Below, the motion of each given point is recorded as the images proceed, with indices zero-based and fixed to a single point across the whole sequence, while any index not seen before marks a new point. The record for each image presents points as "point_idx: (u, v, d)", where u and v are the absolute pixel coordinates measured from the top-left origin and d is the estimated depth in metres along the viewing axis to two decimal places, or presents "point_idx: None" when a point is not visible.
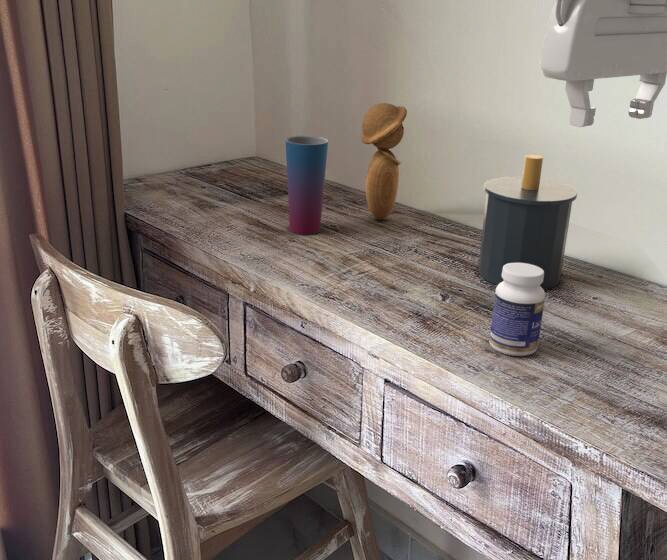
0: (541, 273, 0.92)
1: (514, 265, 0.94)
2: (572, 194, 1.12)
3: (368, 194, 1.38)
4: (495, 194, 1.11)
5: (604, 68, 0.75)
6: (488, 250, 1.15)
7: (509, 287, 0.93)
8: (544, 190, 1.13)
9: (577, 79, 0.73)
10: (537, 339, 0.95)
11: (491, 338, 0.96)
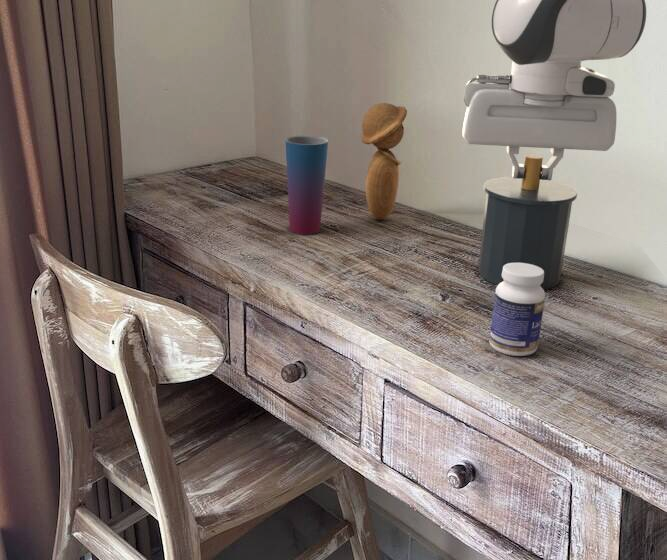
0: (541, 273, 0.92)
1: (514, 265, 0.94)
2: (572, 194, 1.12)
3: (368, 194, 1.38)
4: (495, 194, 1.11)
5: (501, 139, 1.10)
6: (488, 250, 1.15)
7: (509, 287, 0.93)
8: (544, 190, 1.13)
9: (475, 143, 1.10)
10: (537, 339, 0.95)
11: (491, 338, 0.96)
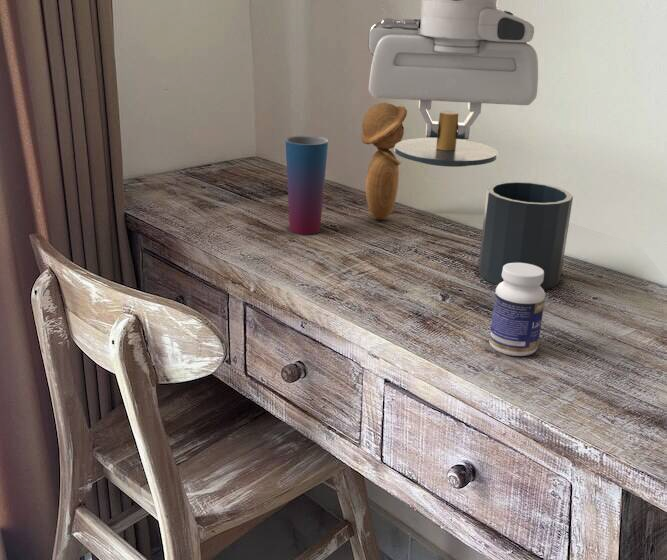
0: (541, 273, 0.92)
1: (514, 265, 0.94)
2: (491, 154, 0.99)
3: (368, 194, 1.38)
4: (404, 154, 0.99)
5: (410, 92, 0.98)
6: (488, 250, 1.15)
7: (509, 287, 0.93)
8: (461, 150, 1.01)
9: (381, 97, 0.98)
10: (537, 339, 0.95)
11: (491, 338, 0.96)
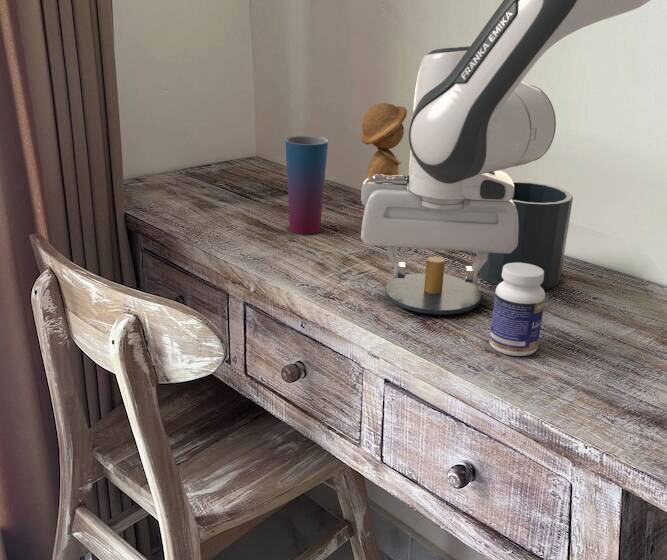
0: (541, 273, 0.92)
1: (514, 265, 0.94)
2: (475, 299, 1.07)
3: None
4: (394, 300, 1.06)
5: (399, 241, 1.05)
6: None
7: (509, 287, 0.93)
8: (447, 294, 1.08)
9: (373, 245, 1.05)
10: (537, 339, 0.95)
11: (491, 338, 0.96)
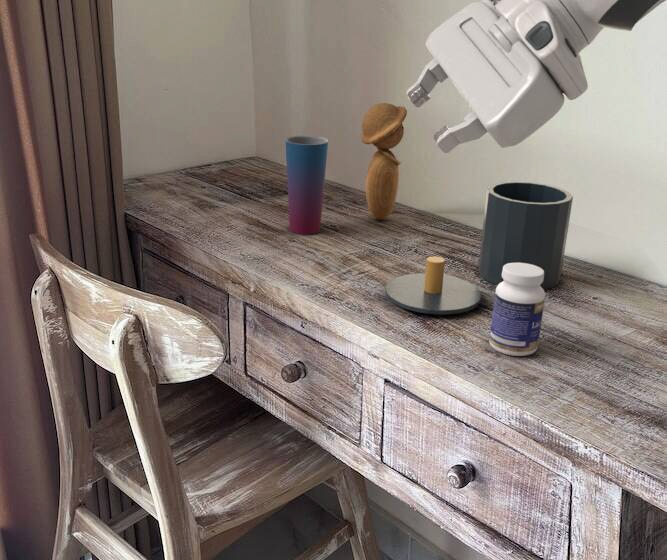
0: (541, 273, 0.92)
1: (514, 265, 0.94)
2: (475, 299, 1.07)
3: (368, 194, 1.38)
4: (394, 300, 1.06)
5: (442, 53, 0.85)
6: (488, 250, 1.15)
7: (509, 287, 0.93)
8: (447, 294, 1.08)
9: (427, 45, 0.87)
10: (537, 339, 0.95)
11: (491, 338, 0.96)
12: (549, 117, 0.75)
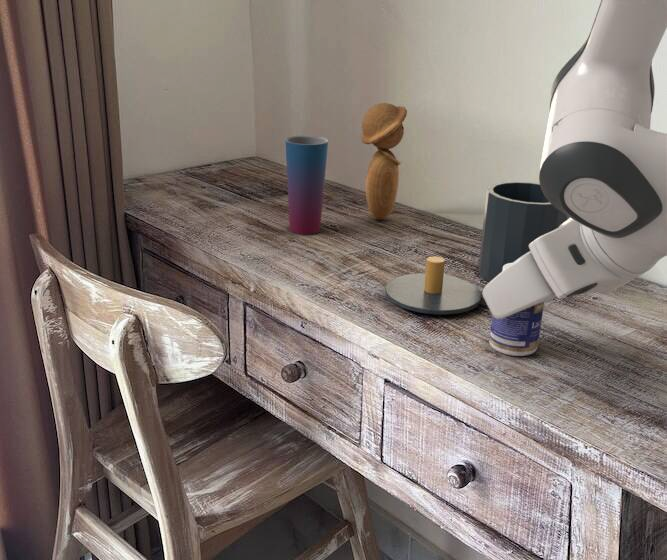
0: None
1: None
2: (475, 299, 1.07)
3: (368, 194, 1.38)
4: (394, 300, 1.06)
5: None
6: (488, 250, 1.15)
7: None
8: (447, 294, 1.08)
9: None
10: (537, 339, 0.95)
11: (491, 338, 0.96)
12: (527, 302, 0.82)
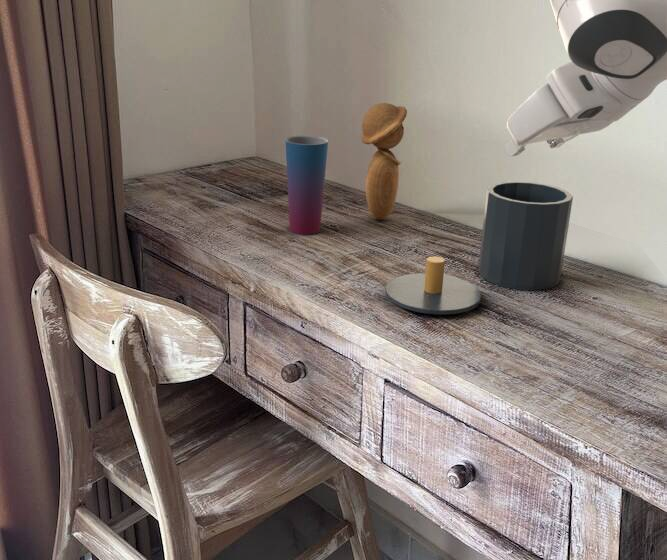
0: None
1: None
2: (475, 299, 1.07)
3: (368, 194, 1.38)
4: (394, 300, 1.06)
5: None
6: (488, 250, 1.15)
7: None
8: (447, 294, 1.08)
9: None
10: None
11: None
12: (545, 124, 0.98)
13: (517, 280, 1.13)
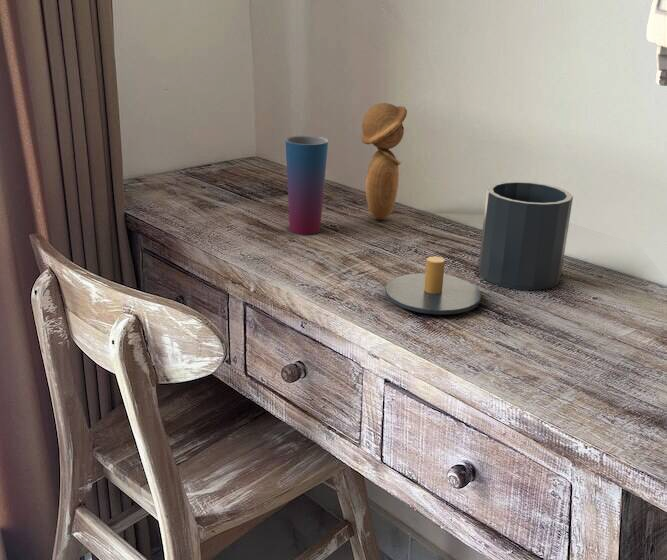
0: None
1: None
2: (475, 299, 1.07)
3: (368, 194, 1.38)
4: (394, 300, 1.06)
5: (656, 36, 0.98)
6: (488, 250, 1.15)
7: None
8: (447, 294, 1.08)
9: (648, 40, 1.01)
10: None
11: None
12: None
13: (517, 280, 1.13)
